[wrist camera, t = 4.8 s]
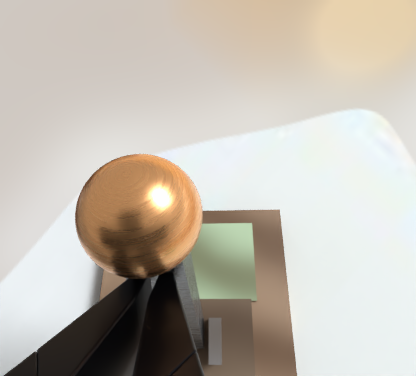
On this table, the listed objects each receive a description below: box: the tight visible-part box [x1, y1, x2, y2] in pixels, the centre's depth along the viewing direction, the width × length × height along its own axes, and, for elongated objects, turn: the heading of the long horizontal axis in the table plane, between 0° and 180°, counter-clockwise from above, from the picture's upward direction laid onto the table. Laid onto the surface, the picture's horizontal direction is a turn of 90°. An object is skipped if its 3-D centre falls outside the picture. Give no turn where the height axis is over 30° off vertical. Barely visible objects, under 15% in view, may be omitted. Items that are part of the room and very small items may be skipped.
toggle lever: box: [75, 154, 205, 349], centre depth 11 cm, size 3×3×12 cm
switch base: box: [99, 210, 297, 376], centre depth 17 cm, size 16×12×5 cm
